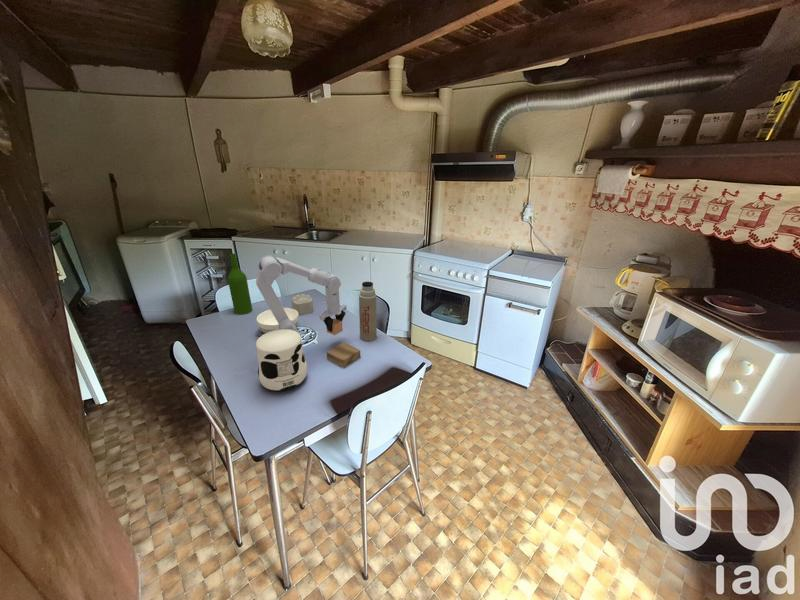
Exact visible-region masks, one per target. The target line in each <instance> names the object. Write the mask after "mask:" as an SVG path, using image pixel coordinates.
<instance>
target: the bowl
mask: <svg viewBox="0 0 800 600" xmlns="http://www.w3.org/2000/svg"><path fill="white" fill-rule="evenodd" d="M283 309H284V310H285V312H286V314H287V316H288V318H289V319H290V320H291V321H292V322H293V323H294V325H295V327H296V328H297V326H298V322H299V316H298V312H297V311H296V310H294V309H293V308H292V307H290V308H289V307H283ZM256 323H257V325H258V327H259V329H260V331H261V332H263V333H264V334H266V333H268V332H271V331H275V330H279V324H278V322H277V320H276V318H275V317H274V315H273V313H272V311H271V310H270V309H267V310H265V311H263V312H260V313H259V314H258V315H257V317H256Z"/></svg>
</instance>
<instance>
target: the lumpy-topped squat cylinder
mask: <svg viewBox="0 0 800 600" xmlns="http://www.w3.org/2000/svg"><path fill="white" fill-rule="evenodd" d="M291 309H294V310H296V311H297V312H298V317H299V316H305V315H310V314H313V313H314V304H313V298H312V297H311V295H310V294H304V293H301V294H300V293H299V294H295V295H294V296H293V297H292V298H291Z"/></svg>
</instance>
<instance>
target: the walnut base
mask: <svg viewBox="0 0 800 600" xmlns="http://www.w3.org/2000/svg"><path fill="white" fill-rule="evenodd" d="M359 359H361V349H359V348H356V347H355V346H352V345H350V344H348V343H346V342H342V343H340V344H338V345H337V346H335V347H333V348H331V349H329V350H328V351H326V360H328V361H330V362H331V363H333V364H336V365H337V366H339V367H341V368H343V369H344V368H347V367H348V366H349V365H352V363H354V362H356V361H357V360H359Z"/></svg>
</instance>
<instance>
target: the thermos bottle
mask: <svg viewBox="0 0 800 600" xmlns="http://www.w3.org/2000/svg"><path fill="white" fill-rule="evenodd" d="M359 290H360V291H359V294H358V310H359V338H360V340H362V341H364V342H373V341H375V340H376V339H377V293H376V290H375V288H374V283H373V282H372V281H363V282H362V284H361V289H359Z"/></svg>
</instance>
